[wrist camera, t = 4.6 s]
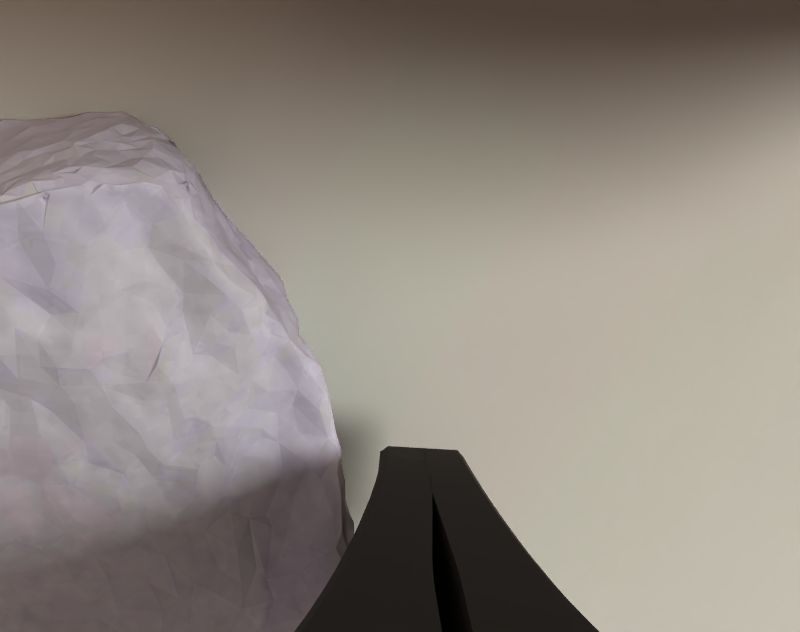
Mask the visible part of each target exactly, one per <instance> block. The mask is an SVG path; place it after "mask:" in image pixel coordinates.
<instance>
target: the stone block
mask: <svg viewBox="0 0 800 632" xmlns="http://www.w3.org/2000/svg"><path fill="white" fill-rule="evenodd" d="M341 461H342V450H341V447H340V444H339V440H338V437H337V434H336V430H335V424H334V418H333V413H332V408H331V403H330V398H329V393H328V388H327V384H326V381H325V378H324V375H323V373H322V370H321V367H320V365H319V363H318V361H317V360H316V358H315V356H314V354H313V353H312V351H311V350H310V348H309V347H308V346H307V344H306V343H305V342H304V340H303V339H302V337H301V336H300V334H299V327H298V319H297V316H296V315H295V313H294V311H293V309H292V307H291V305H290V303H289V301H288V299H287V297H286V293H285V289H284V285H283V282H282V280H281V278H280V276H279V275H278V274H277V273H276V272H275V271H274V269H273V268H272V267H271V266H270V265H269V264H268V263H267V262H266V260H265V259H264V258H263V257H262V256H261V254H260V253H259V252H258V251H257V250H256V249H255V247H254V246H253V245H252V244H251V243H250V242H249V240H248V239H247V238H246V237H245V236H244V235H243V234H242V233H241V232H240V231H239V230H238V229H237V228H236V227H235V226H234V225H233V223H232V222H231V221H230V220H229V219H228V218H227V216H226V215H225V214H224V213H223V212H222V210H221V209H220V207H219V205H218V204H217V203H216V202H215V201H214V200H213V198H212V196H211V194H210V193H209V191H208V189H207V187H206V185H205V184H204V182H203V180H202V178H201V176H200V175H199V174H198V173H197V172H196V170H195V168H194V167H193V165H192V164H191V163H190V162H189V161H188V160H187V159H186V157H185V156H184V155H183V154H182V153H181V152H180V150H179V149H178V148H177V146H176V145H175V143H174V142H173V141H171V139H170V138H168V137H167V136H166V135H165V134H163V133H162V132H161V131H159V130H158V129H157V128H155V127H151V126H146V125H144V124H142V123H141V122H140V121H139V120H137V119H136V118H134V117H132V116H130V115H128V114H126V113H124V112H112V113H100V112H88V113H84V114H81V115H77V116H73V117H69V118H57V119H45V120H9V119H4V120H1V121H0V632H294V631H295V630H296V629H297V627H298V626H299V624H300V623H301V622H302V620H303V619H304V618H305V616H306V615H307V613H308V612H309V611H310V609H311V608H312V606H313V605H314V603H315V602H316V600H317V599H318V597H319V596H320V594H321V592H322V591H323V589H324V588H325V586H326V584H327V583H328V581H329V580H330V578H331V576H332V575H333V573H334V571H335V569H336V568H337V566H338V564H339V562H340V560H341V558H342V557H343V555H344V553H345V551H346V549H347V547H348V545H349V543H350V541H351V540H352V538H353V536H354V522H353V520H352V518H351V516H350V513H349V510H348V507H347V503H346V500H345V479H344V474H343V469H342V464H341Z"/></svg>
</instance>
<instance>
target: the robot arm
mask: <svg viewBox="0 0 800 632" xmlns="http://www.w3.org/2000/svg"><path fill="white" fill-rule="evenodd" d="M294 632H599V631H598V630H597V629H596V628H595V627H594V626H593V625H592V624H591V623H590V622H589V621H588V620H587V619H586V618H585V617H584V616H583V615H582V614H581V613H580V612H579V611H578V610H577V609H576V608H575V607H574V606H573V605H572V604H571V603H570V601H569V600H568V599H567V598H566V597H565V596H564V595H563V594H562V593H561V591H560V590H559V589H558V588H557V587H556V586H555V585H554V584H553V582H552V581H551V580H550V579H549V578H548V576H547V575H546V574H545V573H544V572H543V570H542V569H541V568H540V567H539V566H538V564H537V563H536V562H535V561H534V560H533V558H532V557H531V556H530V554H529V553H528V552H527V551H526V549H525V548H524V547H523V545H522V544H521V543H520V541H519V540H518V539H517V537H516V536H515V535H514V533H513V532H512V531H511V529H510V528H509V526H508V525H507V524H506V522H505V521H504V520H503V518H502V517H501V515H500V514H499V513H498V511H497V510H496V508H495V507H494V505H493V504H492V502H491V501H490V499H489V498H488V496H487V495H486V493H485V492H484V490H483V489H482V487H481V485H480V484H479V482H478V481H477V479H476V477H475V476H474V474H473V473H472V471H471V469H470V468H469V466H468V464H467V463H466V461H465V459H464V457H463V456H462V455H461V454H460V453H459V451H458V450H443V449H426V448H409V447H392V446H388V447H386V448H385V449H384V450H382V451H381V452H380V461H379V471H378V475H377V479H376V482H375V485H374V488H373V491H372V494H371V497H370V500H369V502H368V504H367V507H366V509H365V511H364V514H363V516H362V518H361V521H360V523H359V525H358V528H357V530H356V532H355V534H354V536H353V538H352V540H351V541H350V543H349V545H348V547H347V549H346V551H345V553H344V555H343V557H342V558H341V560H340V562H339V564H338V566H337V568H336V569H335V571H334V573H333V575H332V576H331V578H330V580H329V581H328V583H327V584H326V586H325V588H324V589H323V591H322V592H321V594H320V596H319V597H318V599H317V600H316V602H315V603H314V605H313V606H312V608H311V609H310V611H309V612H308V613H307V615H306V616H305V618H304V619H303V620H302V622H301V623H300V624H299V626H298V627H297V629H296V630H295V631H294Z"/></svg>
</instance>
